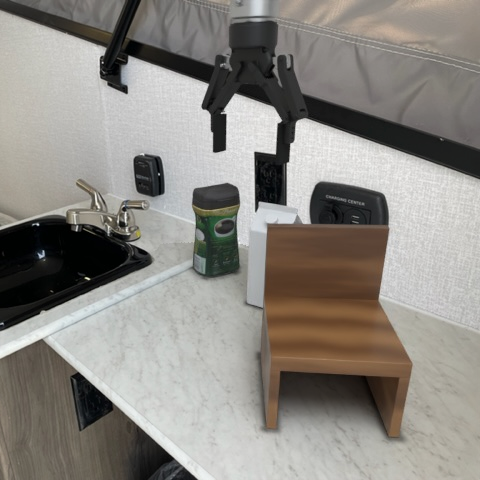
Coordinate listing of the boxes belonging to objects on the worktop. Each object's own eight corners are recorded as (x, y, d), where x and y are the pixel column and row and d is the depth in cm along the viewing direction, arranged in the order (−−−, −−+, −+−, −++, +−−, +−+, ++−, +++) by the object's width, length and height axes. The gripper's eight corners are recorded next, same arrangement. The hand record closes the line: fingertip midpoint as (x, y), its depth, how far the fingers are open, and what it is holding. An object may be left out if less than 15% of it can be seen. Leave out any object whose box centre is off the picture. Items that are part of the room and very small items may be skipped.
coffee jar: (225, 257, 112) (226, 177, 105) (244, 271, 105) (247, 186, 98) (187, 266, 108) (185, 184, 101) (204, 281, 101) (204, 194, 94)
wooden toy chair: (398, 437, 61) (429, 278, 53) (266, 428, 63) (276, 274, 55) (366, 359, 76) (387, 224, 67) (260, 353, 78) (267, 223, 70)
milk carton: (262, 288, 98) (267, 196, 90) (297, 298, 94) (305, 202, 87) (246, 303, 93) (249, 207, 85) (282, 314, 89) (289, 214, 81)
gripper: (180, 24, 83) (182, 150, 91) (310, 17, 65) (298, 174, 73) (211, 23, 87) (210, 143, 96) (340, 16, 70) (326, 164, 78)
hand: (249, 157), depth 85 cm, fingers open, 13 cm apart
